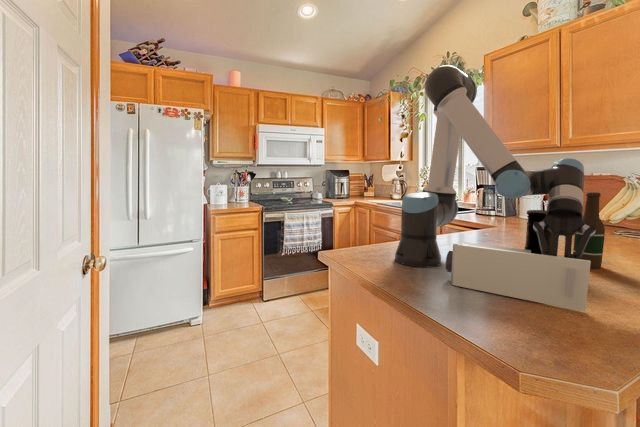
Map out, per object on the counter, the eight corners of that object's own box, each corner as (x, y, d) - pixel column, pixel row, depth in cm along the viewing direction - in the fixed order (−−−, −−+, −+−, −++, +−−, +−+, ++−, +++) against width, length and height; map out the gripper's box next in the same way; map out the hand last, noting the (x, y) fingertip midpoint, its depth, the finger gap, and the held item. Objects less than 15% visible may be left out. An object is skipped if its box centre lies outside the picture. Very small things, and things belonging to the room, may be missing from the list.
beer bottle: (595, 270, 96) (603, 193, 93) (566, 264, 103) (572, 192, 100) (606, 267, 100) (615, 192, 97) (577, 261, 107) (584, 191, 104)
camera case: (528, 287, 82) (531, 250, 81) (524, 299, 74) (527, 258, 73) (452, 273, 94) (454, 241, 92) (442, 282, 86) (444, 247, 84)
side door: (585, 310, 67) (590, 260, 66) (585, 313, 65) (591, 263, 64) (451, 283, 84) (453, 243, 83) (449, 285, 82) (451, 245, 81)
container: (543, 262, 106) (548, 209, 104) (561, 269, 97) (566, 212, 95) (516, 261, 107) (520, 209, 105) (530, 269, 98) (535, 212, 96)
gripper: (595, 216, 81) (593, 297, 70) (534, 213, 89) (525, 285, 78) (599, 197, 77) (598, 280, 66) (535, 195, 85) (524, 269, 73)
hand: (558, 283), depth 72 cm, fingers closed
